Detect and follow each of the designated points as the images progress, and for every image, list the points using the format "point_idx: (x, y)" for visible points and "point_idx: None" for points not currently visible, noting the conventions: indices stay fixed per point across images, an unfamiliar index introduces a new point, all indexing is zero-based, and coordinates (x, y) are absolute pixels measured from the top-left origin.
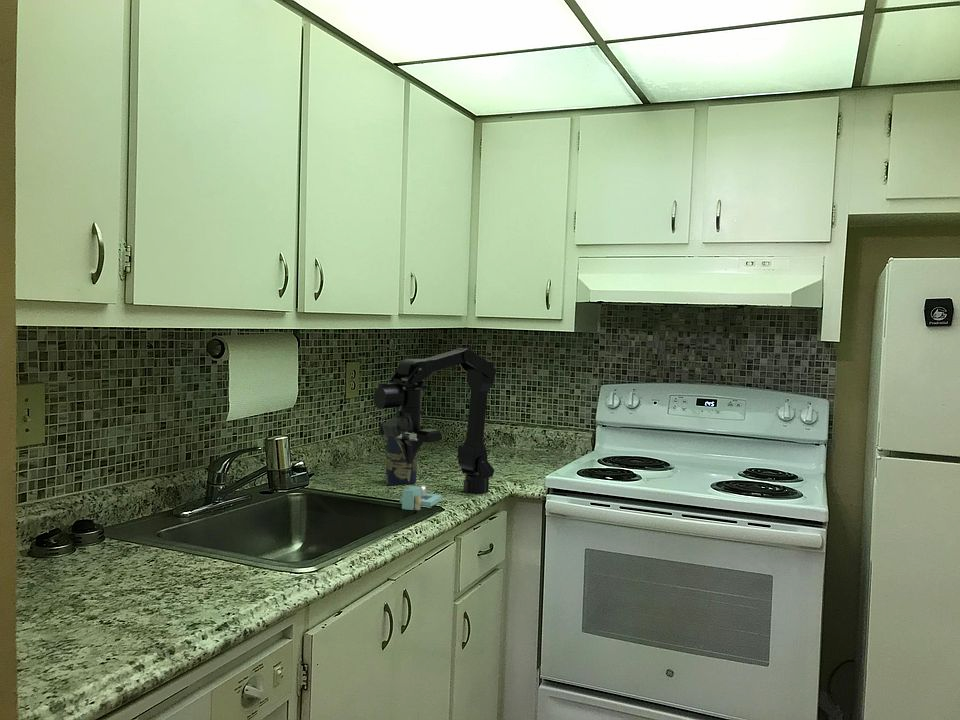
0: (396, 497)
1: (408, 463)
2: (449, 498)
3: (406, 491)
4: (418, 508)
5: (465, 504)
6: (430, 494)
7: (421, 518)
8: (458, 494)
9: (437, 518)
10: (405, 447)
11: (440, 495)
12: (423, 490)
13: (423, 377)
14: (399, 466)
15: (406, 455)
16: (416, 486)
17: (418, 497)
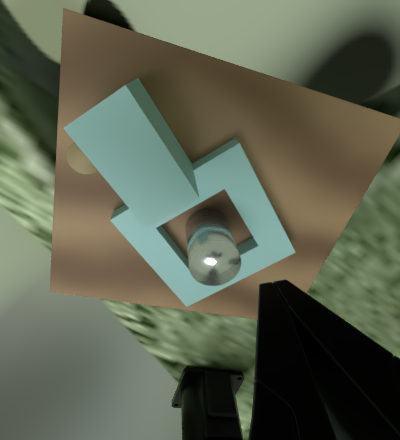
0: (354, 214)
1: (267, 283)
2: (229, 330)
3: (103, 100)
4: None
5: (145, 331)
6: None
7: (29, 106)
8: (249, 364)
9: (7, 166)
10: (393, 438)
11: (187, 300)
12: (188, 250)
13: None
14: None
15: (313, 331)
16: (227, 244)
17: (68, 150)
